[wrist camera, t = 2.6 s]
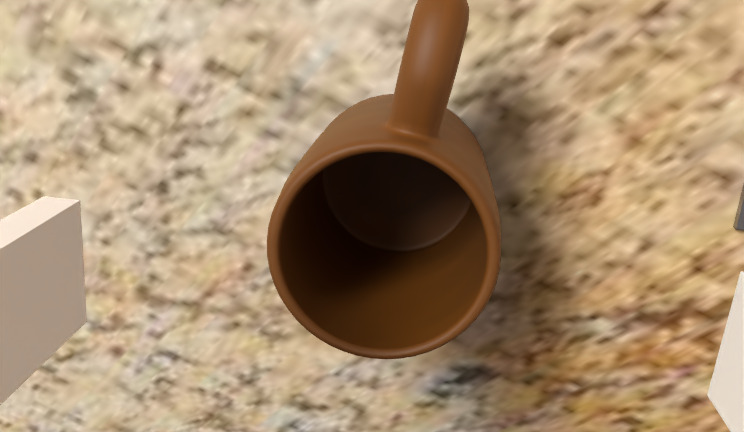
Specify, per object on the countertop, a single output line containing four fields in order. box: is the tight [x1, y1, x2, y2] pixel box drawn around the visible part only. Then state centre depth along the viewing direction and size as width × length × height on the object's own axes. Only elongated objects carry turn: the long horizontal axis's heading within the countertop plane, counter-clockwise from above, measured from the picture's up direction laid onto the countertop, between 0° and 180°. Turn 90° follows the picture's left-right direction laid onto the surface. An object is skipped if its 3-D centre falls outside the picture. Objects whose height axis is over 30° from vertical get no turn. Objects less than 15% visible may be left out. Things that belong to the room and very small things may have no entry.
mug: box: [267, 0, 501, 359], centre depth 26 cm, size 12×8×9 cm, turn 167°
